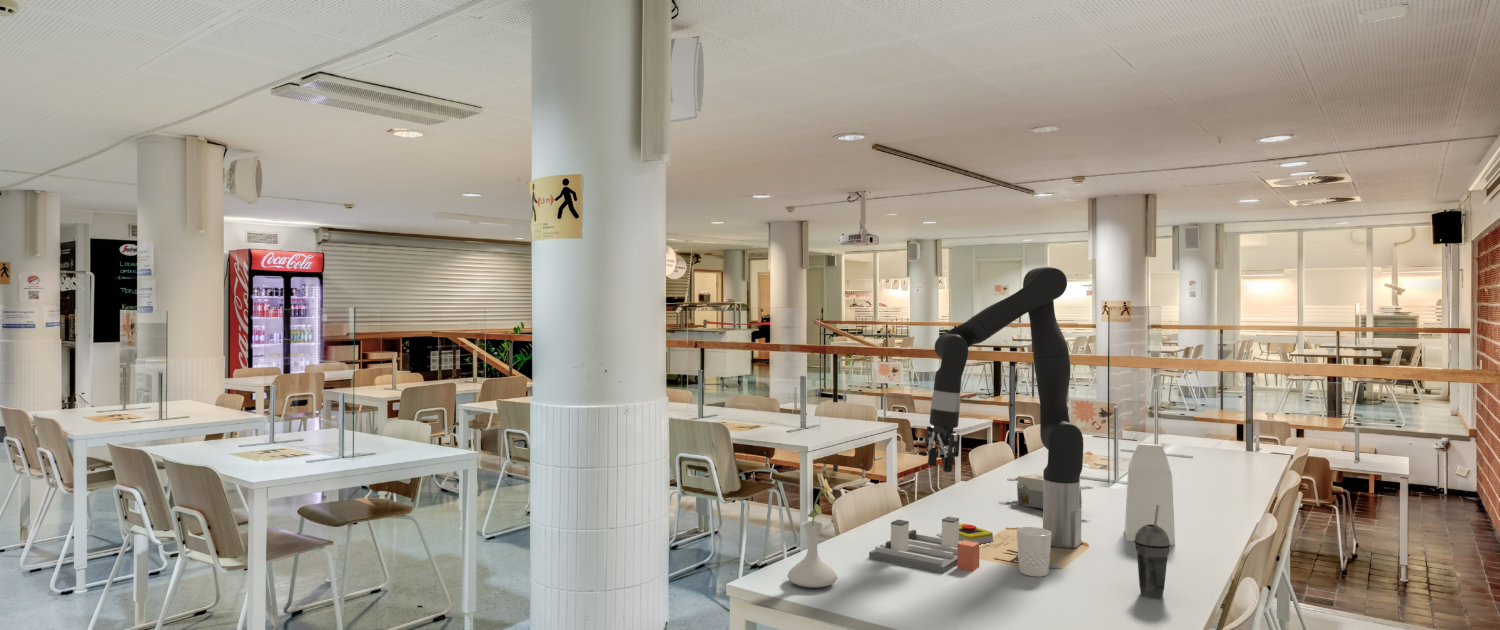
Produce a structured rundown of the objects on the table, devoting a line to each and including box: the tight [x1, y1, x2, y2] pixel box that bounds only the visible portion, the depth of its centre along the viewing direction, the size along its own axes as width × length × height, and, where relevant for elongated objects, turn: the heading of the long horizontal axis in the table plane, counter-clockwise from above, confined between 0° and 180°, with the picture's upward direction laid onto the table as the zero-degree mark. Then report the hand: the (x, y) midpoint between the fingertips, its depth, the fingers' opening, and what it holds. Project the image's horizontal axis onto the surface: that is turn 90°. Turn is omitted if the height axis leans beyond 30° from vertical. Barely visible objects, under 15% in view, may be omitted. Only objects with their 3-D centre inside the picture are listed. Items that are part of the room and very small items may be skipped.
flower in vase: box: [787, 472, 838, 589], centre depth 190 cm, size 13×11×25 cm
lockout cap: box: [956, 540, 980, 572], centre depth 203 cm, size 4×4×6 cm
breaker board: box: [868, 529, 961, 574], centre depth 213 cm, size 20×22×4 cm
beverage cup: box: [1133, 505, 1171, 600], centre depth 184 cm, size 7×7×20 cm
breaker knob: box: [890, 519, 910, 552], centre depth 210 cm, size 3×4×7 cm
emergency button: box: [936, 523, 994, 545], centre depth 228 cm, size 9×4×15 cm
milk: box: [1124, 443, 1176, 546], centre depth 232 cm, size 12×12×26 cm
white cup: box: [1016, 526, 1052, 578], centre depth 199 cm, size 8×8×10 cm
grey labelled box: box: [1006, 473, 1094, 510], centre depth 266 cm, size 12×28×10 cm, turn 29°
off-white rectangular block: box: [941, 516, 960, 548], centre depth 214 cm, size 3×4×7 cm
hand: (939, 468), depth 221 cm, fingers open, 8 cm apart
